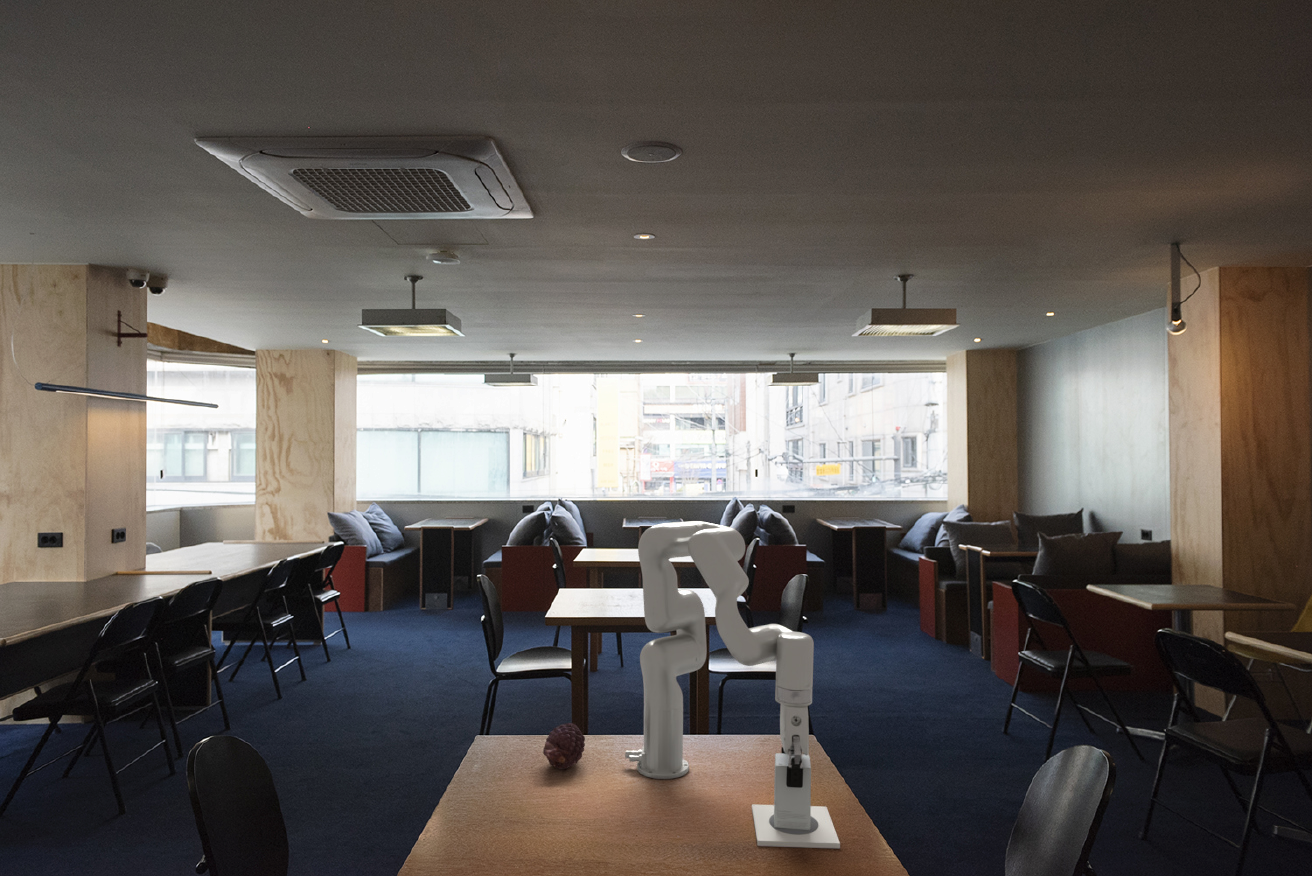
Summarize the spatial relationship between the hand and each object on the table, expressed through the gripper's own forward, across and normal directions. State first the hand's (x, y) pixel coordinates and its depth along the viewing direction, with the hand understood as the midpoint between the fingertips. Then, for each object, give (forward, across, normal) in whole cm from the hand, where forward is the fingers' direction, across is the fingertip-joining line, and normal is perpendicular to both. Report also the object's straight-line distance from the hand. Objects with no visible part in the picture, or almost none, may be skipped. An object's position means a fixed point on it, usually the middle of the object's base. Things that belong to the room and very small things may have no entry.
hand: (791, 776), depth 164 cm
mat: (+10, -1, -1) cm, 10 cm away
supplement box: (+9, 0, 0) cm, 9 cm away
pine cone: (+12, +28, +51) cm, 60 cm away
